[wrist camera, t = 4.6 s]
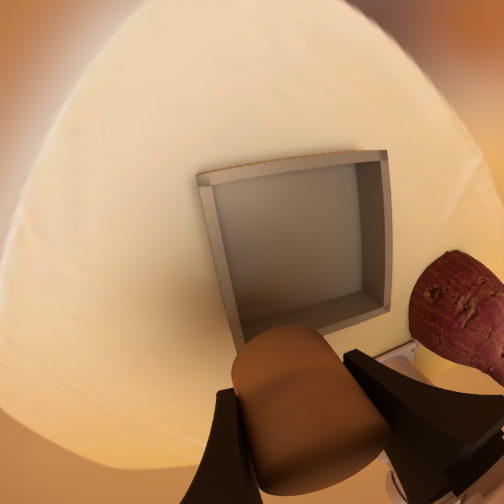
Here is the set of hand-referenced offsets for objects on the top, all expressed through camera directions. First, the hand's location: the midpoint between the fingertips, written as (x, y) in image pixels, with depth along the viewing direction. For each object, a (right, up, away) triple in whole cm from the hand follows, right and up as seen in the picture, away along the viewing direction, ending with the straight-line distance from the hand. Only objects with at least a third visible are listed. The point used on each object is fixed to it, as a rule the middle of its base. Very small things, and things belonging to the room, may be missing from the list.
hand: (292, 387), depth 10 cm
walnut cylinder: (0, 0, +1) cm, 1 cm away
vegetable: (+18, +1, +13) cm, 22 cm away
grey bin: (+1, +6, +8) cm, 10 cm away
